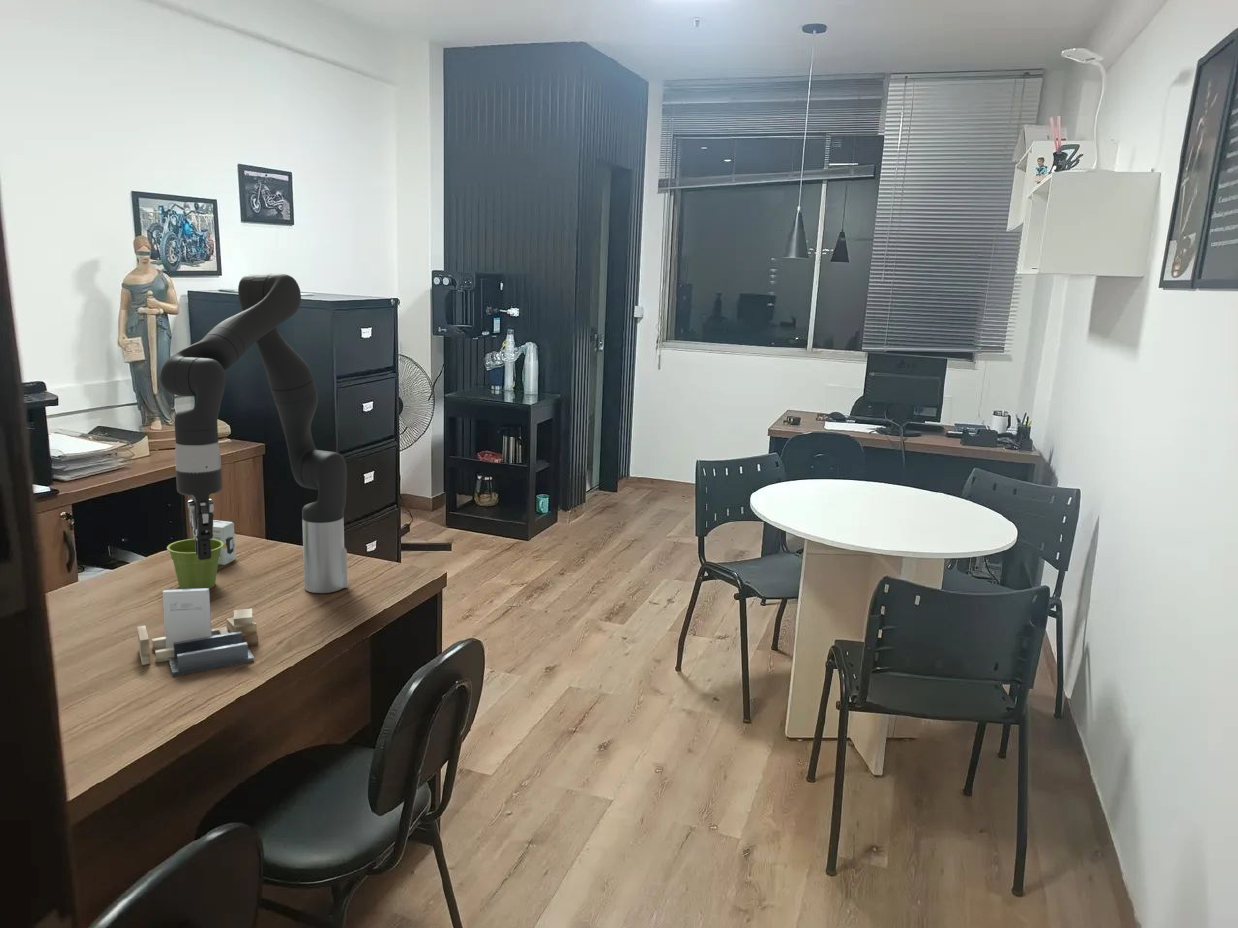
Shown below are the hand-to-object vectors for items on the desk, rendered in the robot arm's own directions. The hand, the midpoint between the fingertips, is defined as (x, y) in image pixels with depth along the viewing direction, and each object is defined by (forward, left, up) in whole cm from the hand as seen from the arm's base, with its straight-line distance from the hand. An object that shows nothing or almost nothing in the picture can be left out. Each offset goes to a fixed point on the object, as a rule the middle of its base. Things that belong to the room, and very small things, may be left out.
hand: (203, 556), depth 160 cm
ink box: (-9, -58, -21) cm, 62 cm away
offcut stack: (-7, -8, -21) cm, 24 cm away
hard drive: (+2, -8, -21) cm, 23 cm away
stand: (0, 0, -21) cm, 21 cm away
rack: (+3, -8, -21) cm, 23 cm away
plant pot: (-3, -42, -21) cm, 47 cm away
